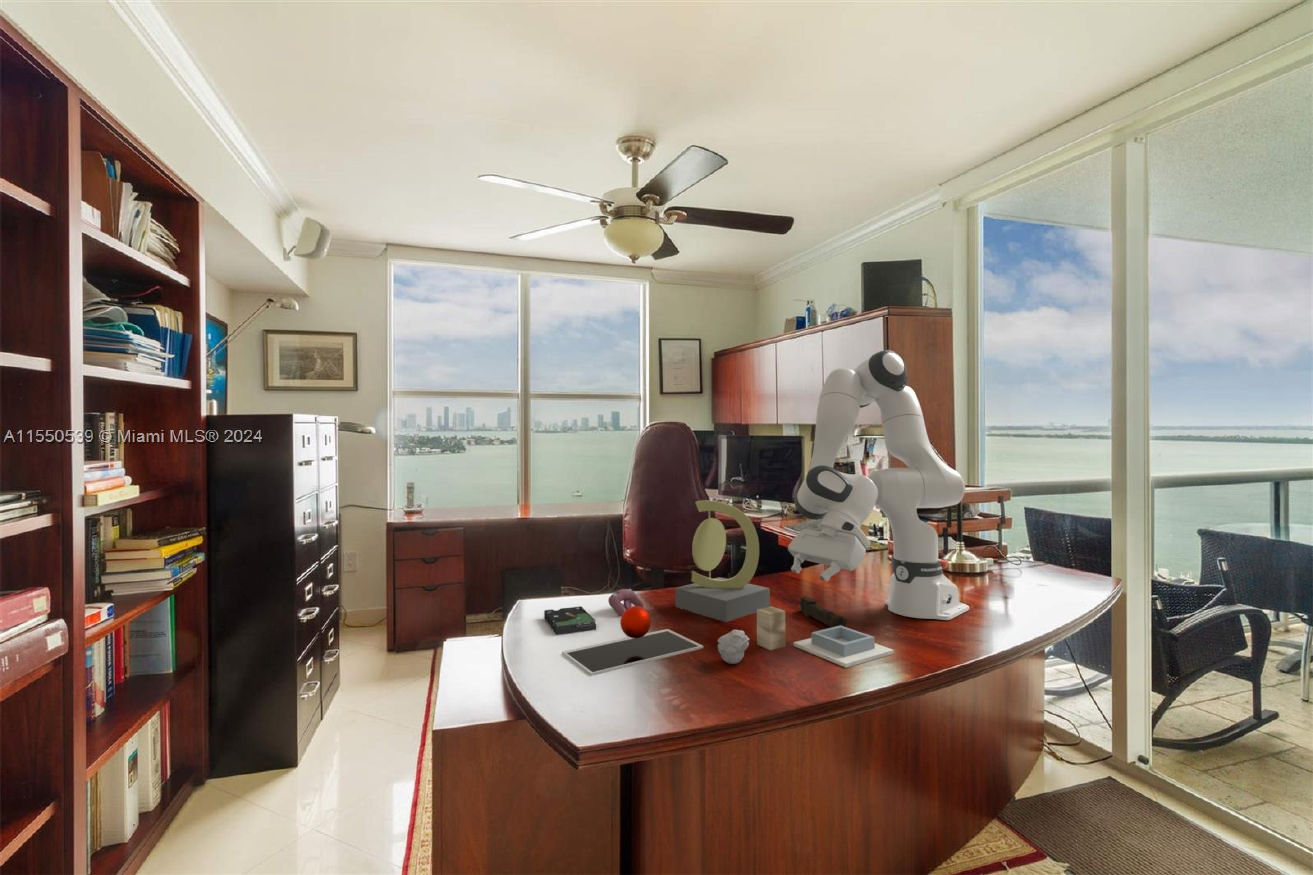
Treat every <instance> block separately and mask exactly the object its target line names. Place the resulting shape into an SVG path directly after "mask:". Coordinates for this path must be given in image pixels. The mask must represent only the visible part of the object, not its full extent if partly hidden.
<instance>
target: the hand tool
mask: <svg viewBox="0 0 1313 875" xmlns="http://www.w3.org/2000/svg"><path fill="white" fill-rule="evenodd" d="M799 605H800V606H799V608H800V612H801V613H802V614H803V615H804V616H806V617H807V618H813V619H815V620H817V621H819V622H820V623H822V624H824V625H826V626H827V627H828V628H832V627H836V626H844V627H847V625H848V619H847V618H846V617H845V616H842V615H841V616H840V615H839V614H836V613H834V612H833V611H831V610H830V611H829V610H828V609H826V608H825V607H822V606H820V605H818V604H817V601H816V600H815V599H812V598H810V597H808V596H802V597H800V600H799Z"/></svg>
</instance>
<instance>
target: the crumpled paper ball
mask: <svg viewBox="0 0 1313 875" xmlns="http://www.w3.org/2000/svg"><path fill="white" fill-rule="evenodd" d="M717 643H718V644H717V651H718V652H719V654H720V656H721V658H722V660H723V661H724V662H726V664H731V665H734V664H735V665H736V664H738V663H740V662H741V661H742V660H743V658H744V656H745V651H747V648H748V647H749V645H750V644H749V643H750V638H749V637H748V635H746V633H745V631H744V630H741V629H740V630H739V629H732V630H731V631H730V632H728V633H727V634H726V633H725V634H724V635H722V636H720V637H719V638H718V639H717Z"/></svg>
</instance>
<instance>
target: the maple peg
mask: <svg viewBox="0 0 1313 875" xmlns="http://www.w3.org/2000/svg"><path fill="white" fill-rule="evenodd" d="M756 644H757V645H758V646H760V647H761V648H764V649H766V650H769V651H773V650H777V649H781V648H785V647H786V610H783V609H781V608H777V607H775V606H772V605H770V607H766V608H761V609H757V612H756Z"/></svg>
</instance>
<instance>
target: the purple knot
mask: <svg viewBox="0 0 1313 875" xmlns="http://www.w3.org/2000/svg"><path fill="white" fill-rule="evenodd" d="M607 600H608V604H609V606H610V607H611V608H612V610H613V611H614V613H616V614H617V615H618V616H620V617H621V616H622V614H623V613H624V611H625V610H626V609H628V608H630V607H632V606H640V607H642V608H644V607H645V606H644V603H643V601H642V599H641V598H640V597H639V596H638V595H637V593H636V592H635V591H634V590H632V589H631V588H628V589H627V588H623V589H618V590H616V591H615V592H613V593H612V594H611V595H610V596H609V597H608V599H607Z"/></svg>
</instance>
